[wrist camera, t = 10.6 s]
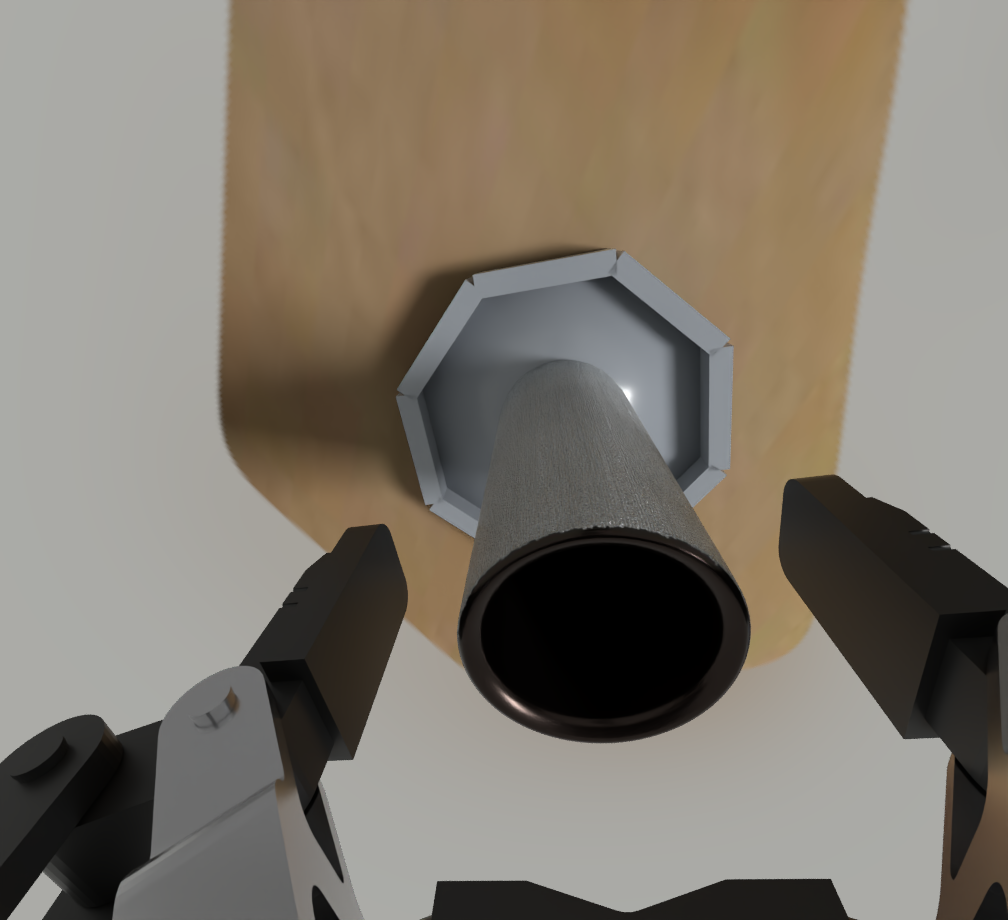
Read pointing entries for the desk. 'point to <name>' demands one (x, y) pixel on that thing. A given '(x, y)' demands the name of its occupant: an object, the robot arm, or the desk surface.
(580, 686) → the planter
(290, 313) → the desk surface
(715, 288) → the desk surface
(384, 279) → the desk surface
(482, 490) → the saucer
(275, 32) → the desk surface
